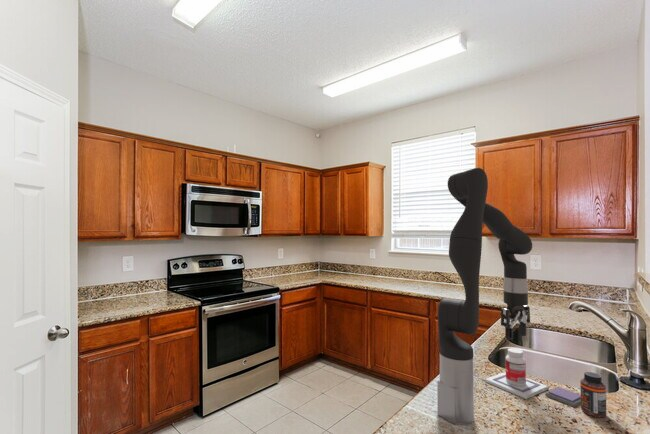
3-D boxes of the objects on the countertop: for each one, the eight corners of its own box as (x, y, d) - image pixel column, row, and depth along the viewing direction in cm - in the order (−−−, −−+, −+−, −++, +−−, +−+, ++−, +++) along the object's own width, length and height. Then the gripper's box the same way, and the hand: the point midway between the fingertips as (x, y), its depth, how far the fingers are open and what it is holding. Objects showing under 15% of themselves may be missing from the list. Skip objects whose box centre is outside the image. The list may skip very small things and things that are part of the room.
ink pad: (574, 407, 100) (574, 402, 100) (545, 395, 107) (545, 391, 107) (585, 400, 104) (585, 395, 104) (557, 390, 111) (557, 385, 111)
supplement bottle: (575, 407, 100) (574, 369, 101) (595, 407, 100) (594, 370, 100) (591, 418, 94) (590, 378, 95) (612, 419, 94) (611, 378, 94)
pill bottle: (508, 377, 118) (508, 346, 119) (527, 382, 114) (527, 350, 115) (503, 382, 114) (503, 350, 114) (523, 388, 110) (523, 355, 110)
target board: (526, 399, 104) (526, 395, 104) (485, 381, 116) (485, 378, 116) (548, 389, 112) (547, 385, 112) (507, 373, 124) (507, 370, 124)
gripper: (514, 293, 109) (515, 343, 108) (537, 291, 116) (538, 337, 115) (493, 290, 115) (493, 336, 114) (515, 288, 123) (516, 331, 121)
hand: (516, 337), depth 115 cm, fingers open, 8 cm apart
